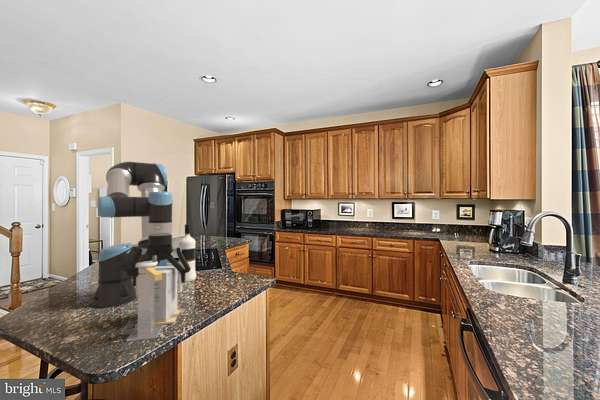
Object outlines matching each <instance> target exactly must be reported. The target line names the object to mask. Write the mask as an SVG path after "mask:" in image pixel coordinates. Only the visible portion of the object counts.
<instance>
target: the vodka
mask: <svg viewBox="0 0 600 400" xmlns="http://www.w3.org/2000/svg"><path fill="white" fill-rule="evenodd" d="M196 243H197V242H196V240H195V238H193V237H192V236H191V224H189V223H187V224H184V236H183V237H181V238H180V239H179V240H178V247H179V246H180V247H181V248H182V253H183V255H184V257H185V259H186V261H187V262H188V264H189V266H190V268H191V270H190V271H189V272H187V273H185V282H184V283H189V282H190V283H191V282H193V281H194V280H196V279H197V272H196V245H197V244H196ZM177 262H178V263H179V264H180V265H181V266H182V267H183V268H184V266H183V264H182V263H181V261H180V259H179V258H178V261H177ZM184 269H185V268H184ZM179 274H180V272H179V271H178V272H177V282H179Z"/></svg>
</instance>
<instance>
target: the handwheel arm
mask: <svg viewBox="0 0 600 400" xmlns="http://www.w3.org/2000/svg"><path fill="white" fill-rule="evenodd" d="M156 265H158V262H157V255H154V256H153V258H152V261H144V262H139V263H136V267H137V268H139V274H147V275H148V276H149V277H151V278H152V279H153V280H154V281H157V280H162V273H160V272H159V271H157V270H156V269H155V266H156Z"/></svg>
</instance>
